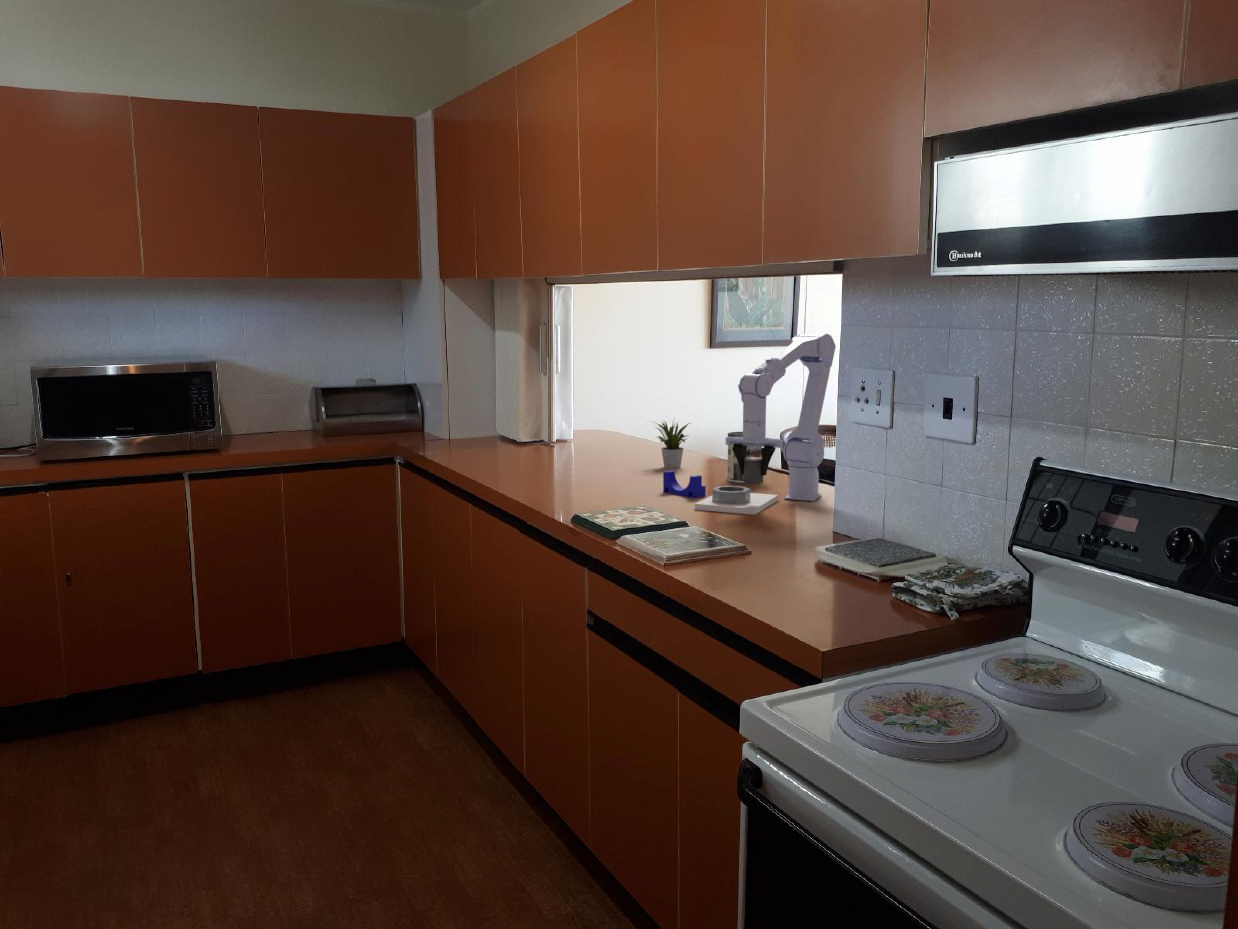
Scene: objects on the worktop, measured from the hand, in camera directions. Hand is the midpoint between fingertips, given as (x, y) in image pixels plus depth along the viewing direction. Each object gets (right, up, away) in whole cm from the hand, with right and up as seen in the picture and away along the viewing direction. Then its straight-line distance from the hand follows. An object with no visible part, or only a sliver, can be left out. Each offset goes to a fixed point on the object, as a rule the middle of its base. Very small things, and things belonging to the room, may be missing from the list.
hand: (753, 474), depth 253 cm
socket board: (-3, -8, +6) cm, 11 cm away
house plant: (-18, +1, +67) cm, 69 cm away
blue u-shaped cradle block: (-16, -6, +22) cm, 28 cm away
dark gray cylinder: (0, -2, 0) cm, 2 cm away
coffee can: (+3, -3, +43) cm, 43 cm away
